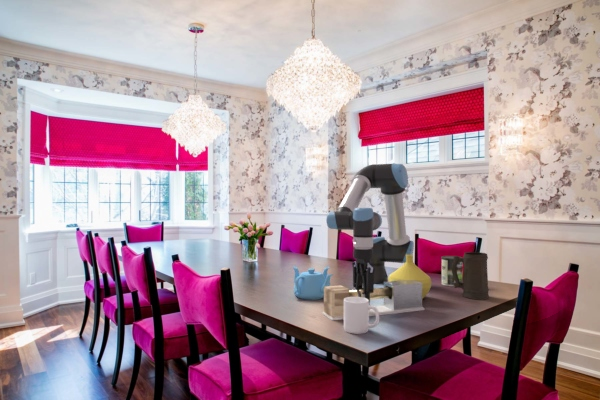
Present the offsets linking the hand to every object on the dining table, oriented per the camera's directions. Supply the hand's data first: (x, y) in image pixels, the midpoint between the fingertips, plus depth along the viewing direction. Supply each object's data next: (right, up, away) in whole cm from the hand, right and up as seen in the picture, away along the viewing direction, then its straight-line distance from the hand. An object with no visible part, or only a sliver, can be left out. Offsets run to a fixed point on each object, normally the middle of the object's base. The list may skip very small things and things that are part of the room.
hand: (362, 308), depth 152 cm
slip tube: (+3, +3, +1) cm, 5 cm away
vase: (+24, -2, +23) cm, 33 cm away
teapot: (-18, -2, +27) cm, 33 cm away
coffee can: (+54, -2, +52) cm, 75 cm away
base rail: (+5, -2, +2) cm, 5 cm away
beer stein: (+52, -2, +27) cm, 59 cm away
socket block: (-10, -2, -4) cm, 11 cm away
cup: (-4, -2, -21) cm, 21 cm away
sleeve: (+16, -2, +6) cm, 17 cm away
